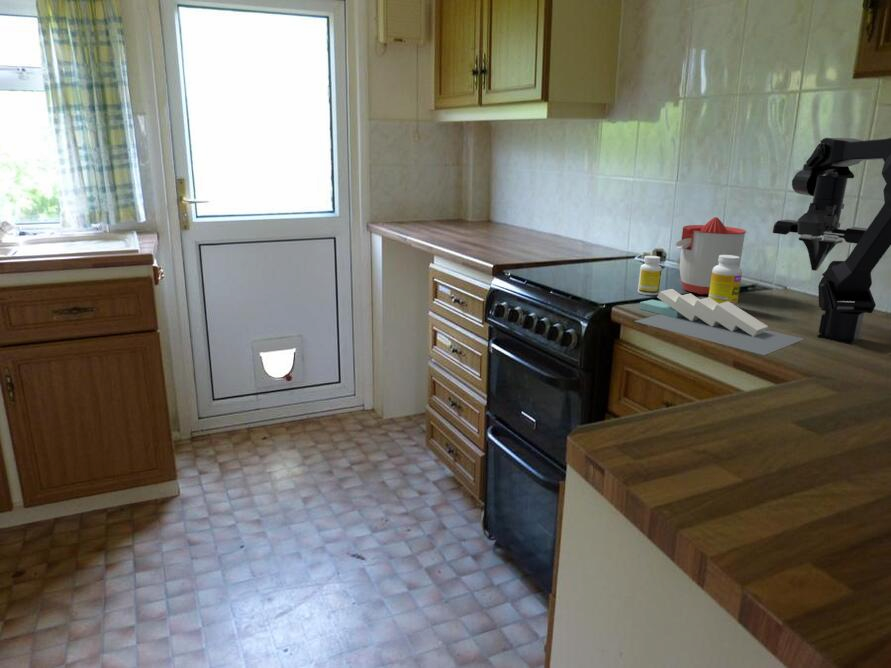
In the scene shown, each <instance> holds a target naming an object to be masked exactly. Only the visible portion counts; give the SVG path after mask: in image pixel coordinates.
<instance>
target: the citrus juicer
mask: <svg viewBox="0 0 891 668" xmlns="http://www.w3.org/2000/svg"><path fill="white" fill-rule="evenodd" d="M745 234H747V231H746V229H742V228H739V227H731V226H725V225H724V223H723V222H722V221H721V219H719V217H717V216H714V217H713V218H711V219H709V220H708V222H707V223H705V224H689V225H684V226H683V227H682V232H681V239H680V240H678V241H676V244H675V248H676V249H678V250H679V249H680V257H679V274H680V275H679V276H680V283H681V286H682V289H684V290H685V291H687V292H689V293H690V292H691V293H694V294H696V293H697V294H696V295H698V294H700V296H704V295H709V290H710V284H711V277H712V270H713V268H714V267H715V266H717V265H718V264H719V260H718V259H719V255H733V256H738V257H740V262H739V264H738V267H739V268H740V267H741V261H742V253H743V249H744V242H745Z"/></svg>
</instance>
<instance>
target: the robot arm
mask: <svg viewBox="0 0 891 668" xmlns="http://www.w3.org/2000/svg"><path fill="white" fill-rule="evenodd" d="M875 160H876V161H878V160H880V161H881V160H883V162H884V163H883V166H882V170H881V175H882V177H883V179H884V182H885V183H886V184H885V186H884V187H883V191H882V192H883V199H884V201H883V202H884V204H883V205H882V207H881V208H880V209H879V211H878V213H877V214H876V216H875V217H874V218H873V220H872V221H871V223H870V225H869V226H868V227H867V228H866V227H859V226H858V227H857V226H853V227H848V228H846V229H842V228H841V222H840V219H841V214H842V210H843V209H844V207H845V203H844V198H845V195H846V191H847V190H846V189H847V184H848V179H854V178H855V174H854V172H853V171H851V170H850V168H849V167H853V166H855V165H859V164H860V163H861V162H862V161H875ZM791 186H792V190H793V191H794V192H795V193H796V194H799V195H803V196H810V197H813V198H812V202H810V203H809V205H808V210H807V212H805V213H804V214H802V215H801V216H800V217H799V218H798V219H797V220H793V219H779V220H777V221H776V222H775V223H774V225H773V228H772V229H773V230H772V234H777V235H788V234H790V233H795V234H796V233H797V235H799V236H800V237H798V240H799V241H802V242H803V243H804V246H805V247H806V250H807V254H808V257H809V264H810V268H811V271H818V269H820V267H821V265H822V264H823V262H824V261H825V259H826V257H827V256H828V255H829V253H830V252H831V251H832V250H833V249H834V248H835V246H836V245H838V244H842V243H843V239H844V241H845V242H846V243H850V244H856V245H855V246H854V248H853V249H852V250H851V253H850V254H849V255H848V256H847V258H846V259H845V260H832V261H831V262H830V263H829V264H828V266H827V269H826V270H825V271H824V272H823V273H821V276H822V278H820V281H819V282H818V283H819V284H818V285H817V286H818V307H819V309H820V310H821V311H823V312H824V313H823V314H821V318H820V321H819V322H820V323H819V329H818V334H817V335H816V338H819V339H823V340H828V341H833V342H837V343H840V344H841V343H842V344H846V345H852V344H854V343H857V342H859V341H861V340H862V339H863V338H862V337H860V334H861V329H862V324H863V319H864V315H865V313H866V314H872V313H873V311H874V310H875V308H876V302H875V301H876V300H874V299H875V298H874V296H873V294H872V292H871V289H870V288H871V287H872V284H873V281H872V279H873V278H872V271H873V270H874V269H875V267H876V266H877V264H878V263H879V262H880V260H882V258H883V256H884V255H885V254H886V253H887V251H888V250H889V248H891V137H889V138H881V139H878V138H877V139H867V140H863V139H858V138H849V137H848V138H847V137H845V138H843V137H824V138H823V139H821V140H820V143H819V144H817V146H816V147H815V149H814V151H813V152H812V154H811V155H810V157H809V158H808V159H807V160H806V161H805V163H804V164H803V168H802V169H801V170H799V171H798V172H797V173H796V174H795V175H794V176H793V178H792V180H791ZM821 236H822V237H821Z"/></svg>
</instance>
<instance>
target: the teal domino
mask: <svg viewBox="0 0 891 668" xmlns="http://www.w3.org/2000/svg"><path fill="white" fill-rule="evenodd" d="M639 310H643V311H647V312H651V313H655V314H657V315H660V314H662V315H666V316H670V317H674V318H678V317H682V316H683V315H682V314H680V313H679V312H678V311H676V310H675V309H673V308H672V307H670V306H669V305H668V304H666V303H665V302H663V301H662V300H657V299H648V300H644V301H640V302H639Z"/></svg>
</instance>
